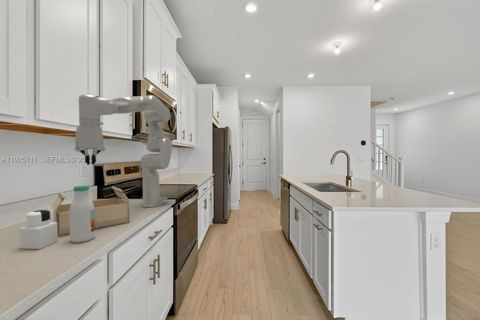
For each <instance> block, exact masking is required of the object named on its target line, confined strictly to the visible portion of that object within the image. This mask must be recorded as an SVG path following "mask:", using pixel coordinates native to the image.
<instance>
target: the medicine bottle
mask: <svg viewBox="0 0 480 320" xmlns="http://www.w3.org/2000/svg"><path fill="white" fill-rule="evenodd" d="M58 237H59V236H58V234H57V222H54V221H51V211H50V210H48V209H41V210H40V209H38V210H33V211H30V212H28V213H27V214H26V225H25V226H21V227H20V228H19V244H20V245H19V246H20V247H19V249H20V250H41V249H44V248H45V247H48V246H51V245H52V244H54V243H57V242H58V241H59V238H58Z"/></svg>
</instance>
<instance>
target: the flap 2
mask: <svg viewBox="0 0 480 320" xmlns="http://www.w3.org/2000/svg"><path fill="white" fill-rule="evenodd" d="M111 189H112V190H113V191H114V193H115V194H116V196H117V198H120V199H122V200H124V201H126V202H128V203H129V202H130V200H129V198H128V197H127V195H126V194H125V192H124V191H123V190H122V189H121V188H118V187H116V186H114V185H112V186H111Z"/></svg>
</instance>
